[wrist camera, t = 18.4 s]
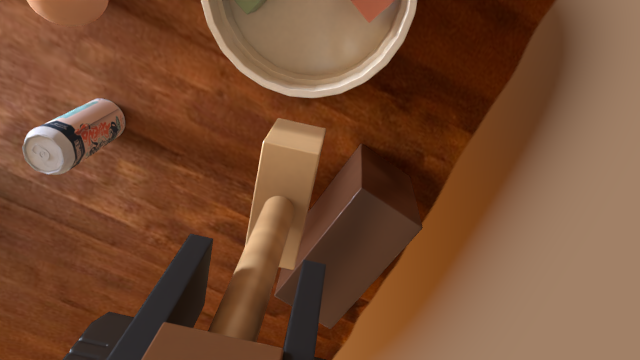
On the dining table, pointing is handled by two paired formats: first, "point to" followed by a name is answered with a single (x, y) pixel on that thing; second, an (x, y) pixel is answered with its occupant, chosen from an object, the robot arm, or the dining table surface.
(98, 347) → the robot arm
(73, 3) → the egg
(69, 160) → the beer can
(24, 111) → the dining table surface
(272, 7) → the bowl
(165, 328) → the wooden mallet
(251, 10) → the sage block
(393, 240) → the stand
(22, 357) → the dining table surface
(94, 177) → the dining table surface
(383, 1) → the terracotta block
